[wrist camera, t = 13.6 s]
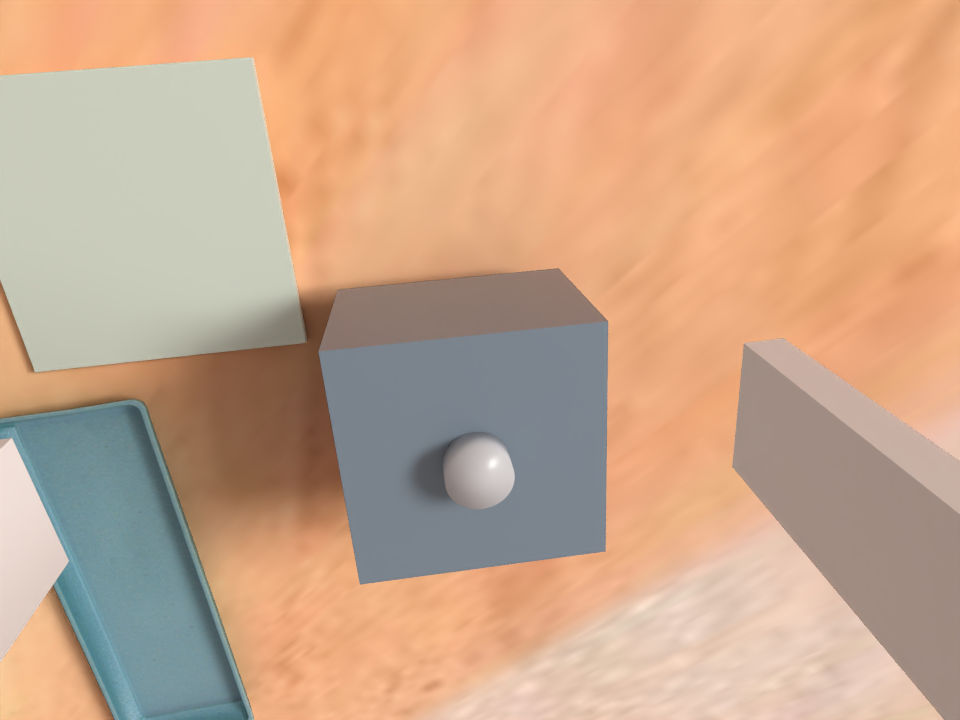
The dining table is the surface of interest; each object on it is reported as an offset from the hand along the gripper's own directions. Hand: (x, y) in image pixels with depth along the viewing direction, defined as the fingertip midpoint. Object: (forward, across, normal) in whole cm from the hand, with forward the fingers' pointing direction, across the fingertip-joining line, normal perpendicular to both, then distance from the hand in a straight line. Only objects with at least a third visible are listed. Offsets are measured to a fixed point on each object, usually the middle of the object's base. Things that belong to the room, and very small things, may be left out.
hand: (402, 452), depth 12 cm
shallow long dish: (+26, -20, -22) cm, 39 cm away
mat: (+26, -14, 0) cm, 29 cm away
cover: (+23, +2, -10) cm, 25 cm away
